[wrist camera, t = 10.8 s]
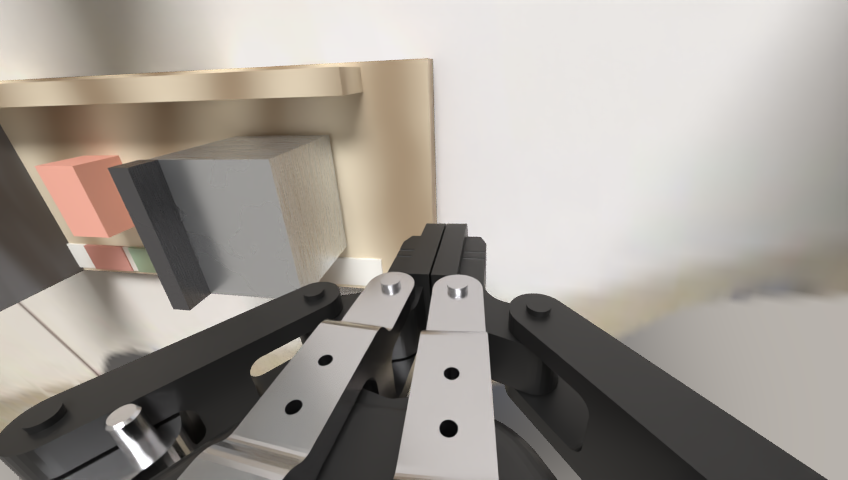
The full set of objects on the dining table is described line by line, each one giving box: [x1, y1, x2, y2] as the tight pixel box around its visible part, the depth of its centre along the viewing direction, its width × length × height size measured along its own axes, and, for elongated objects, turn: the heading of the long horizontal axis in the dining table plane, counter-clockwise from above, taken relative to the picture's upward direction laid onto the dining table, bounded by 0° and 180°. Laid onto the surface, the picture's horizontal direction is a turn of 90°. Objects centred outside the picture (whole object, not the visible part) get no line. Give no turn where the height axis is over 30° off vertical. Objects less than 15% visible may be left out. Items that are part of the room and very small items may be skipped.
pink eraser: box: [35, 155, 135, 238], centre depth 19 cm, size 2×4×2 cm, turn 2°
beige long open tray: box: [0, 58, 437, 311], centre depth 17 cm, size 28×12×8 cm, turn 92°
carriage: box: [108, 135, 347, 310], centre depth 15 cm, size 5×6×6 cm
